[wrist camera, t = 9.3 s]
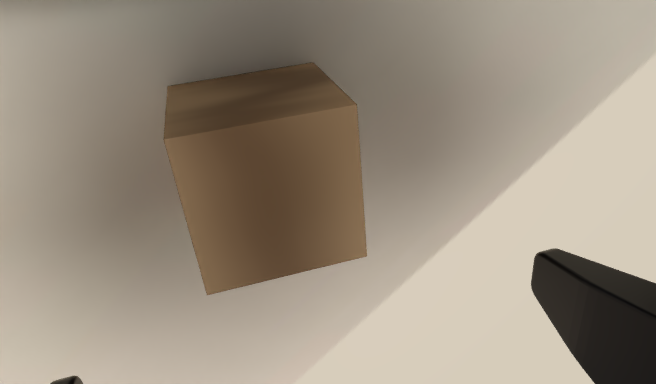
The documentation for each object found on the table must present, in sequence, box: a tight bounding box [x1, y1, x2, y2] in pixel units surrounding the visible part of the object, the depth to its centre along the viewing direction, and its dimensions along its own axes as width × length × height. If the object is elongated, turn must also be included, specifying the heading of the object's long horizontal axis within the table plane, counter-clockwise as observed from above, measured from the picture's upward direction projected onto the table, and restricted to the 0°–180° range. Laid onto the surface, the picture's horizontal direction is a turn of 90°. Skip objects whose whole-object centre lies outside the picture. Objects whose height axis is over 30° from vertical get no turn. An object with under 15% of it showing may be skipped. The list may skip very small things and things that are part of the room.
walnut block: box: [164, 62, 367, 295], centre depth 16 cm, size 5×5×5 cm
